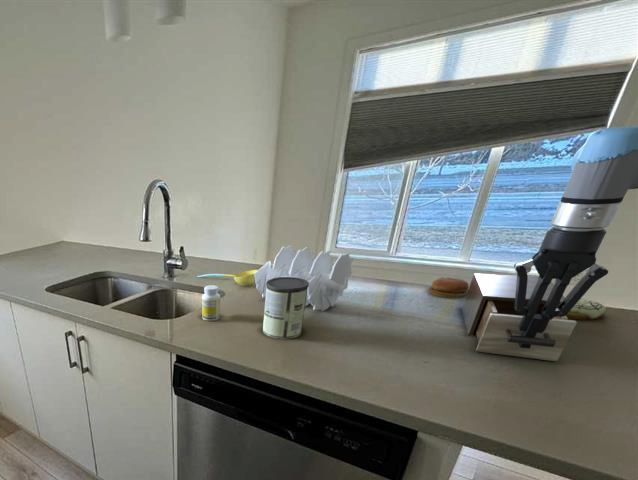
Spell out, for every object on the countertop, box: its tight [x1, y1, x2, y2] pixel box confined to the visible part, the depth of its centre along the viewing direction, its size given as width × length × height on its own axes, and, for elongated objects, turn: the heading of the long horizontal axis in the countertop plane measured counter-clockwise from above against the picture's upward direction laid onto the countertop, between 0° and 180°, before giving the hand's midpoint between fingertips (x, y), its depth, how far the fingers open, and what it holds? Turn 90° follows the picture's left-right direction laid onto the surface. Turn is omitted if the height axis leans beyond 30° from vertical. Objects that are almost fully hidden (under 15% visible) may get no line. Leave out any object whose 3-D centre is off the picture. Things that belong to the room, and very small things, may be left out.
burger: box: [428, 276, 470, 299], centre depth 123 cm, size 10×9×5 cm
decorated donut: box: [566, 298, 607, 321], centre depth 104 cm, size 10×11×4 cm
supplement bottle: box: [201, 284, 221, 322], centre depth 122 cm, size 5×5×10 cm
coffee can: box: [262, 277, 309, 339], centre depth 107 cm, size 10×10×14 cm
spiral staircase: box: [254, 244, 354, 311], centre depth 123 cm, size 18×18×25 cm
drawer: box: [475, 299, 578, 362], centre depth 90 cm, size 24×13×9 cm, turn 149°
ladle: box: [197, 269, 259, 287], centre depth 154 cm, size 9×26×6 cm, turn 44°
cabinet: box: [461, 273, 566, 337], centre depth 100 cm, size 20×15×11 cm
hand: (523, 345), depth 84 cm, fingers closed
